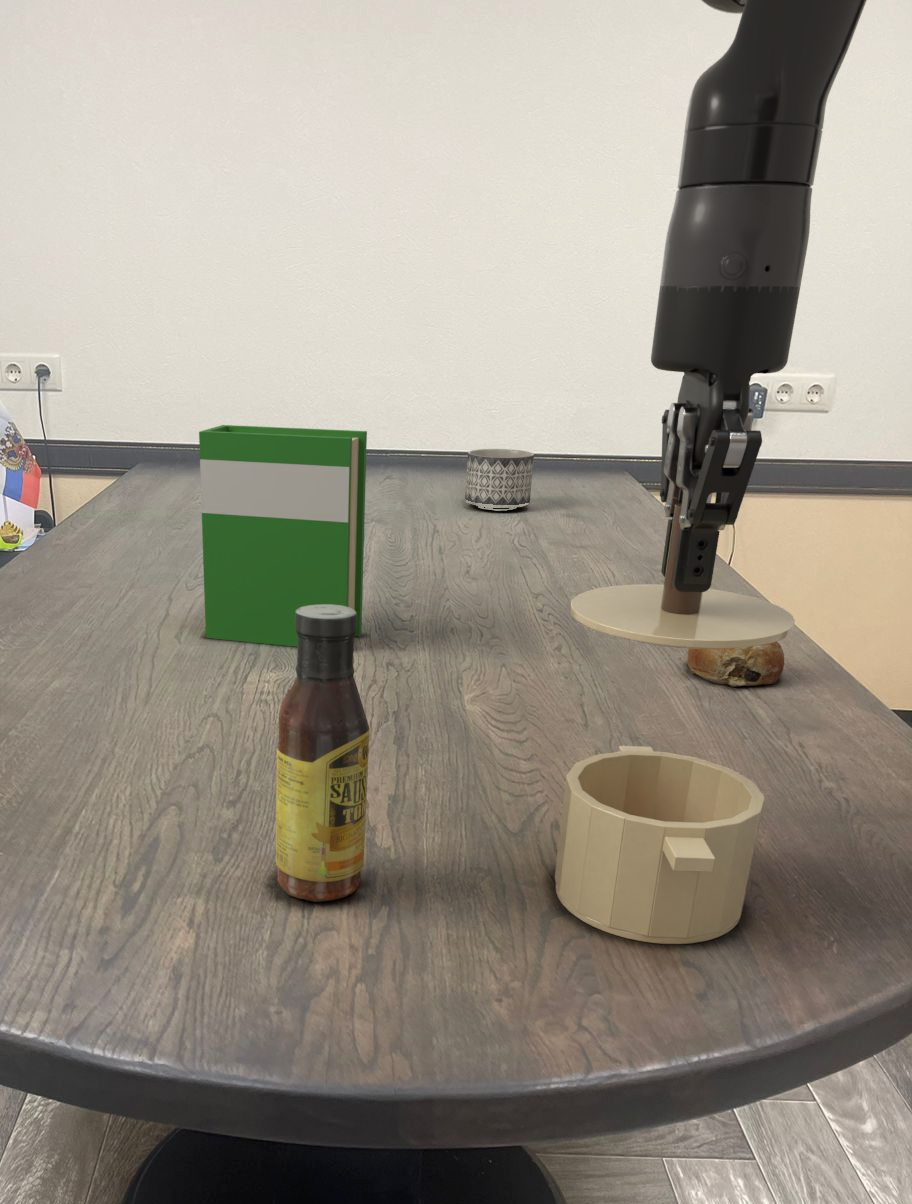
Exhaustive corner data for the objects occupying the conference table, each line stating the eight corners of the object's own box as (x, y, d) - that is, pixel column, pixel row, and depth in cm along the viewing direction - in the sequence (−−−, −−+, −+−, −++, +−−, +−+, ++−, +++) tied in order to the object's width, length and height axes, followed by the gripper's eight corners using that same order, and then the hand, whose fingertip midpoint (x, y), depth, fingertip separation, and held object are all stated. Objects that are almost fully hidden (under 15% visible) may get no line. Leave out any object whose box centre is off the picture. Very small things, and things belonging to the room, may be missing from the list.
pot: (704, 842, 86) (722, 739, 82) (778, 971, 69) (805, 850, 66) (540, 836, 86) (551, 734, 83) (575, 963, 70) (590, 843, 66)
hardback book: (361, 634, 137) (366, 431, 126) (345, 651, 130) (349, 438, 120) (227, 622, 141) (222, 424, 131) (205, 637, 135) (199, 431, 125)
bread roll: (693, 714, 122) (717, 660, 116) (668, 651, 128) (688, 597, 122) (780, 712, 123) (808, 659, 117) (750, 649, 129) (775, 596, 123)
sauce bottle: (342, 914, 75) (349, 630, 67) (260, 894, 77) (257, 617, 69) (377, 873, 80) (388, 605, 72) (300, 855, 83) (301, 594, 75)
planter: (526, 503, 223) (531, 449, 219) (531, 514, 212) (536, 458, 208) (463, 501, 224) (467, 448, 220) (465, 512, 213) (469, 456, 209)
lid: (754, 602, 76) (774, 489, 73) (823, 661, 64) (851, 529, 61) (555, 597, 77) (567, 485, 74) (586, 655, 65) (601, 524, 62)
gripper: (843, 279, 56) (780, 615, 63) (760, 282, 68) (716, 561, 76) (692, 278, 56) (646, 612, 63) (637, 281, 69) (604, 559, 76)
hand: (684, 583), depth 69 cm, fingers closed on lid, 2 cm apart
